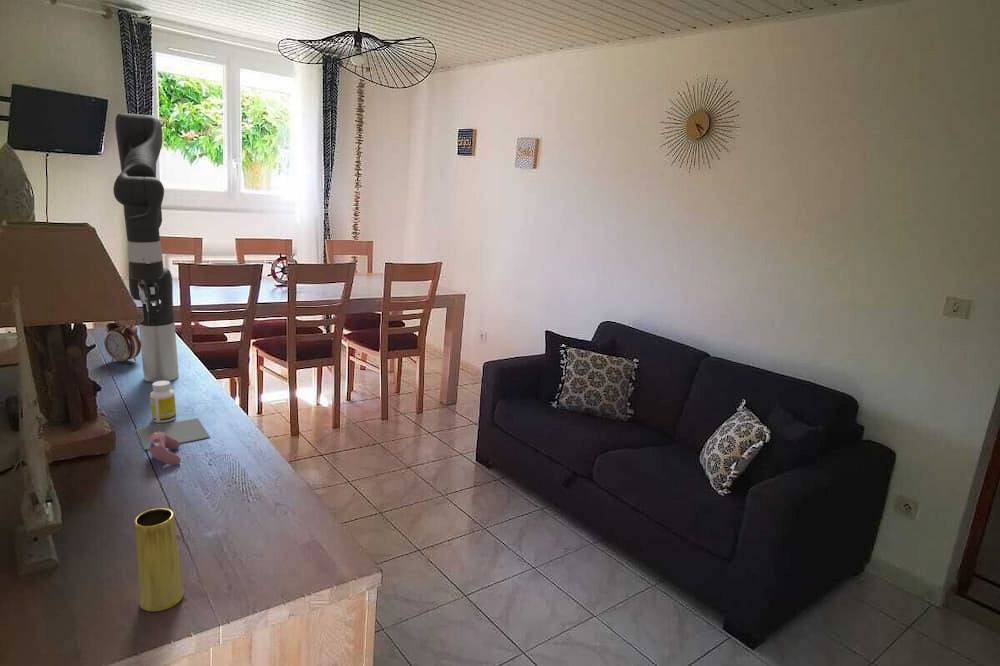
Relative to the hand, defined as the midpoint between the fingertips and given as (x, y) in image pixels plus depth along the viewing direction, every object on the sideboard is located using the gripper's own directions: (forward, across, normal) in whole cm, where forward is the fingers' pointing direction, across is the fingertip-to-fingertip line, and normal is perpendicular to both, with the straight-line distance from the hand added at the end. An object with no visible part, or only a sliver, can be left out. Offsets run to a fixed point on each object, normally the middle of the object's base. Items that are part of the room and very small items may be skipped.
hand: (151, 321), depth 161 cm
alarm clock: (+25, -45, -3) cm, 51 cm away
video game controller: (+24, +32, -4) cm, 40 cm away
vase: (+22, +82, -13) cm, 86 cm away
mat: (+23, +20, 0) cm, 31 cm away
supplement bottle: (+24, +9, 0) cm, 26 cm away
